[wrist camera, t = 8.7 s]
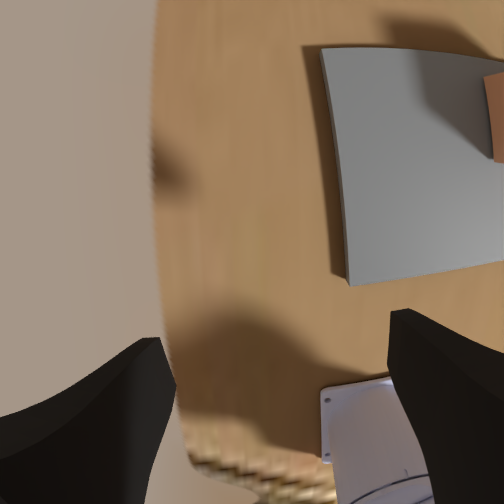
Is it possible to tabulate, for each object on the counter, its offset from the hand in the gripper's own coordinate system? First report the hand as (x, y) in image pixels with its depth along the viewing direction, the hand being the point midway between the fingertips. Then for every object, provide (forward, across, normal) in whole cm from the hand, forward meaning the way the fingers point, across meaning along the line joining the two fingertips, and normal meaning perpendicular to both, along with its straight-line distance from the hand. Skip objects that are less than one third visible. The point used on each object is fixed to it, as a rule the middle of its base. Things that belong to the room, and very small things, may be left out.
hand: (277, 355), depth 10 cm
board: (+9, -12, -4) cm, 16 cm away
